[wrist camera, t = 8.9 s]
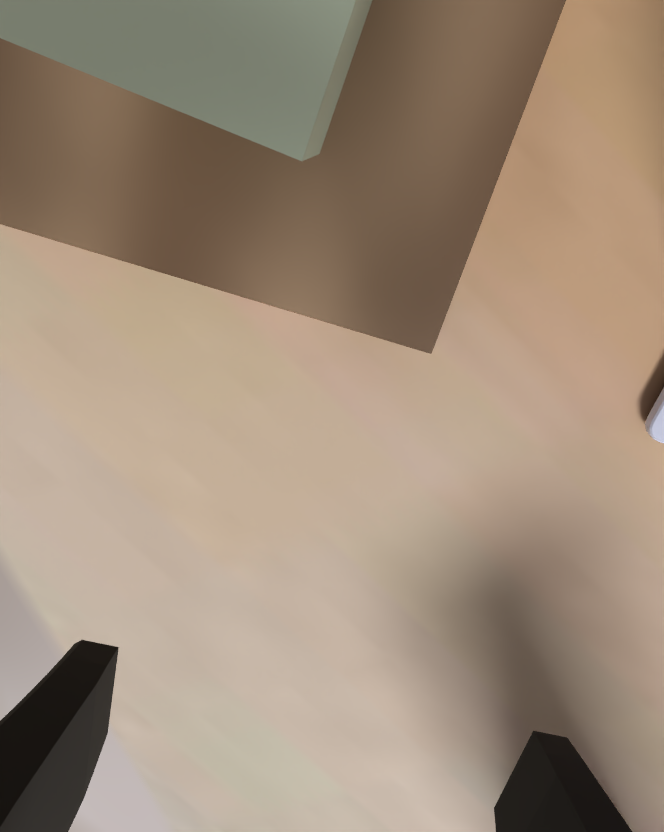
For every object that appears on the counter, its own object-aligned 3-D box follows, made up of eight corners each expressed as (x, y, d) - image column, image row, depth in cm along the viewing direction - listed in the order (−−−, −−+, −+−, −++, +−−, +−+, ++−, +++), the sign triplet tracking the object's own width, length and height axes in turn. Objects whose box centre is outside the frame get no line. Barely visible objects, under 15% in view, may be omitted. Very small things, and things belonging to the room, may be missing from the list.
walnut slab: (612, -207, 13) (679, -297, 11) (419, 321, 18) (431, 353, 15) (49, -427, 12) (-38, -588, 10) (-2, 193, 17) (-70, 203, 14)
